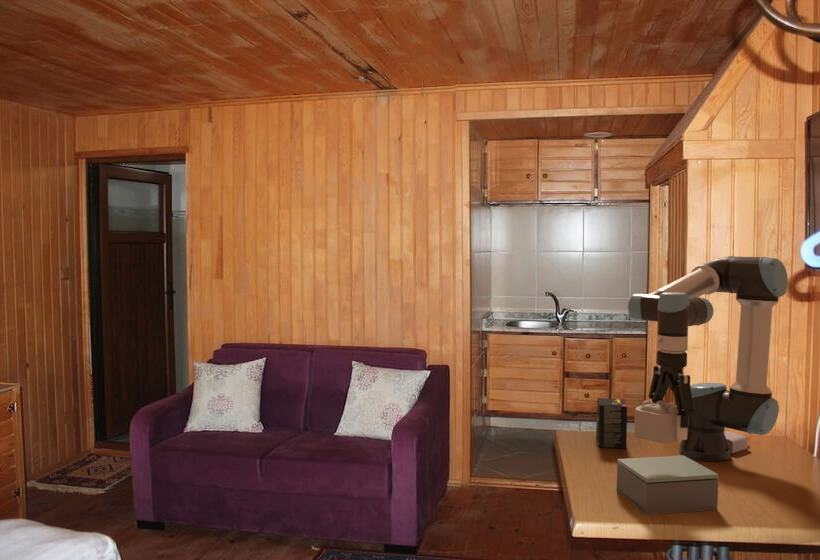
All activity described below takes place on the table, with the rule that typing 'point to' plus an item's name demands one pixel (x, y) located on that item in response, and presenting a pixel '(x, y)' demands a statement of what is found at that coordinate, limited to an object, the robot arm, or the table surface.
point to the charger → (736, 441)
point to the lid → (667, 469)
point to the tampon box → (611, 423)
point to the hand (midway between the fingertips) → (669, 432)
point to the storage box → (667, 493)
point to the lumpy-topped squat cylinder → (656, 421)
